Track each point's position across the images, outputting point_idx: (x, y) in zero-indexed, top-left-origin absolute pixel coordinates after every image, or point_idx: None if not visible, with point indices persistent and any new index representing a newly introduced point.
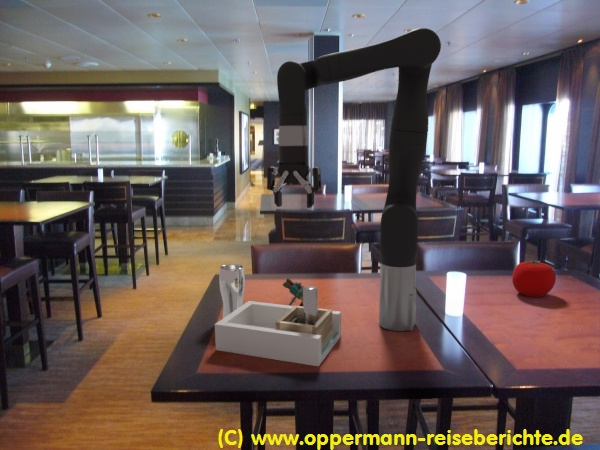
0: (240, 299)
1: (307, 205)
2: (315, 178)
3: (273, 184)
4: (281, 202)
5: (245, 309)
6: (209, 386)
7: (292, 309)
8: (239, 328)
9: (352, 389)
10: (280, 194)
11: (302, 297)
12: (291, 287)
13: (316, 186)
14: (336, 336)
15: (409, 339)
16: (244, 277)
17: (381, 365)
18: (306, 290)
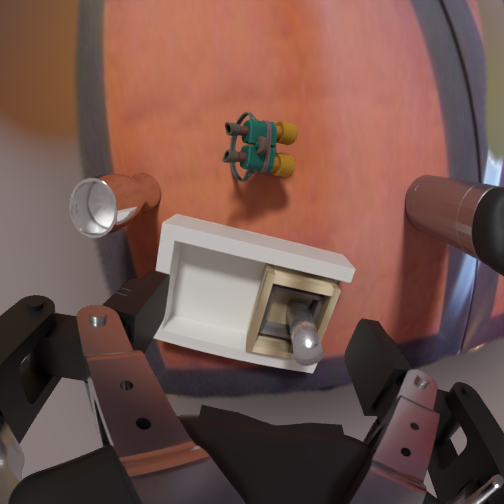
0: (143, 207)
1: (349, 366)
2: (449, 494)
3: (35, 337)
4: (162, 287)
5: (170, 267)
6: (192, 391)
7: (265, 295)
8: (190, 347)
9: (340, 385)
10: (140, 331)
11: (272, 170)
12: (244, 160)
13: (436, 451)
14: (337, 282)
15: (432, 257)
16: (130, 197)
17: None
18: (301, 364)
